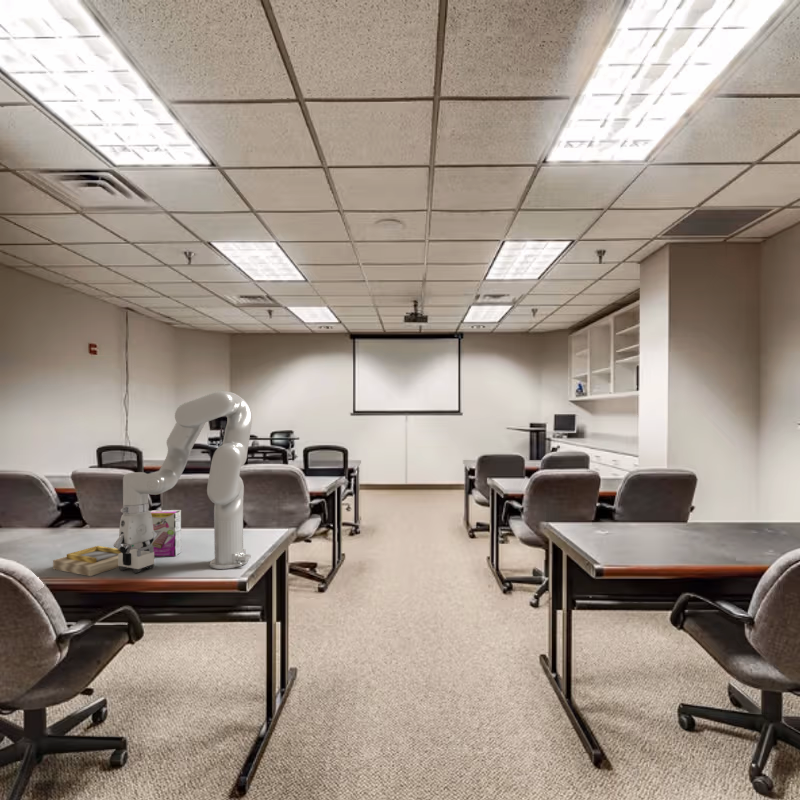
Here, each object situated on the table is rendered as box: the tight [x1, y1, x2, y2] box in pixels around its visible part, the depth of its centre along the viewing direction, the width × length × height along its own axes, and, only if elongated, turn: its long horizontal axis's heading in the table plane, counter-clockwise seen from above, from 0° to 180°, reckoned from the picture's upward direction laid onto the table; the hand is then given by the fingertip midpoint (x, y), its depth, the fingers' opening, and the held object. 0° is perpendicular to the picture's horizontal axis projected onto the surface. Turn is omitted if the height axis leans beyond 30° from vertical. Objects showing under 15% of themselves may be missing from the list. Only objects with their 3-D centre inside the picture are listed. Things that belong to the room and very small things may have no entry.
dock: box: [52, 545, 121, 577], centre depth 168 cm, size 20×17×4 cm
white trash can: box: [118, 545, 155, 574], centre depth 163 cm, size 10×6×8 cm, turn 66°
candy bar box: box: [149, 509, 182, 558], centre depth 179 cm, size 11×5×16 cm, turn 90°
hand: (136, 561), depth 163 cm, fingers closed on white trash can, 6 cm apart
